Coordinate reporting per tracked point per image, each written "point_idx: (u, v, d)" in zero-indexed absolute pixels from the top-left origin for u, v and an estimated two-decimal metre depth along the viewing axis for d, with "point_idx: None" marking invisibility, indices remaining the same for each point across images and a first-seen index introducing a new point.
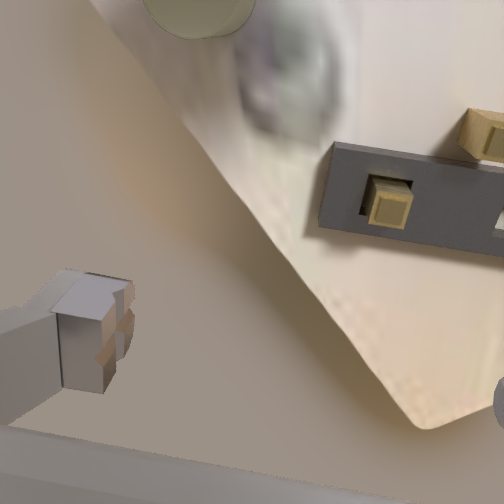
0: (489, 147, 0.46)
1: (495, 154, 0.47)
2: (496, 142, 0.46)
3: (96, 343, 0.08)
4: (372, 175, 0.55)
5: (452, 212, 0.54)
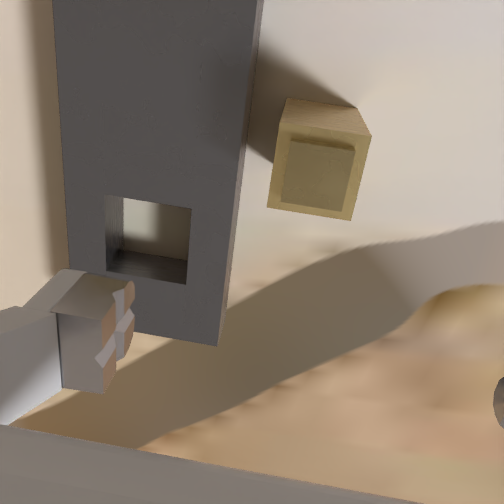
0: (309, 145, 0.20)
1: (291, 162, 0.20)
2: (320, 159, 0.20)
3: (96, 343, 0.08)
4: None
5: (141, 107, 0.24)
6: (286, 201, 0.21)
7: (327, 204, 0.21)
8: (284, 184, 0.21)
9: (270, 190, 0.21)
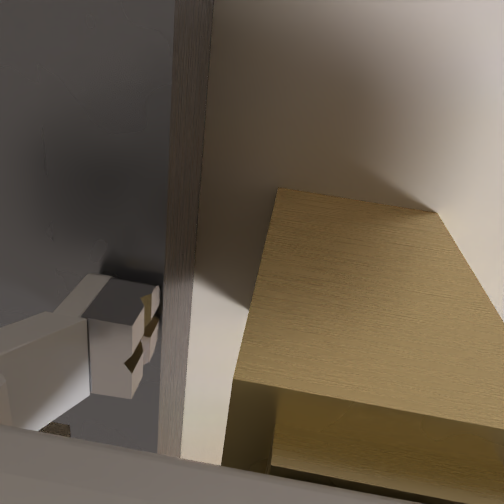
0: (342, 480, 0.05)
1: None
2: None
3: (127, 348, 0.08)
4: None
5: None
6: None
7: None
8: None
9: None
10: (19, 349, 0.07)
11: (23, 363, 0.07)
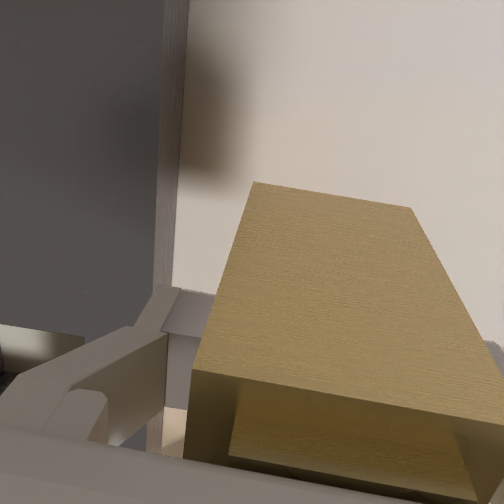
0: (300, 469, 0.05)
1: None
2: None
3: None
4: None
5: None
6: None
7: None
8: None
9: None
10: (111, 365, 0.07)
11: (113, 379, 0.07)
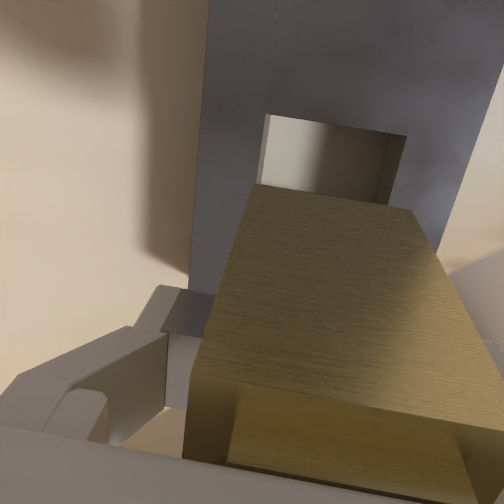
0: (300, 476, 0.05)
1: None
2: None
3: None
4: None
5: None
6: None
7: None
8: None
9: None
10: (111, 366, 0.07)
11: (113, 379, 0.07)
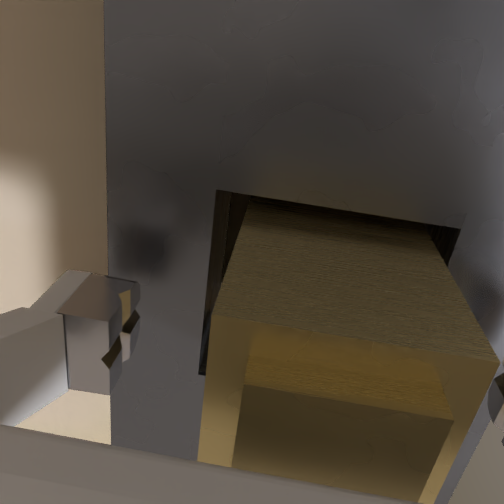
0: (304, 396, 0.06)
1: (250, 433, 0.07)
2: (338, 432, 0.06)
3: (103, 344, 0.08)
4: None
5: None
6: None
7: None
8: None
9: None
10: None
11: None
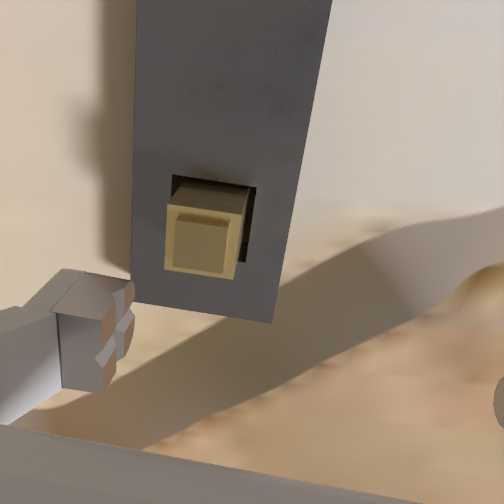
0: (191, 223, 0.24)
1: (178, 235, 0.25)
2: (200, 234, 0.24)
3: (97, 343, 0.08)
4: None
5: (215, 88, 0.26)
6: (177, 266, 0.25)
7: (210, 268, 0.25)
8: (174, 253, 0.25)
9: (165, 256, 0.26)
10: None
11: None
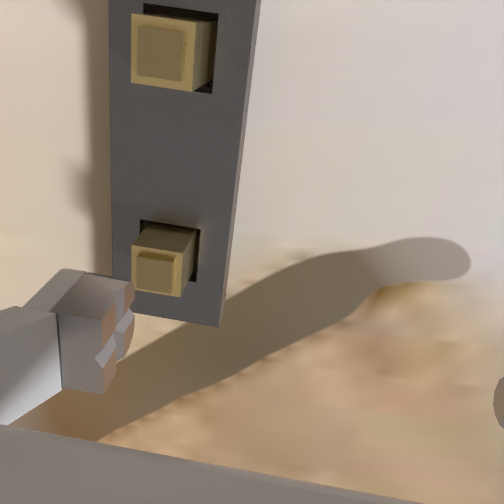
0: (147, 259, 0.35)
1: (138, 267, 0.35)
2: (154, 266, 0.35)
3: (96, 343, 0.08)
4: (213, 24, 0.33)
5: (167, 161, 0.36)
6: (139, 287, 0.36)
7: (162, 289, 0.36)
8: (136, 278, 0.36)
9: (132, 280, 0.36)
10: None
11: None
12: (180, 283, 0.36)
